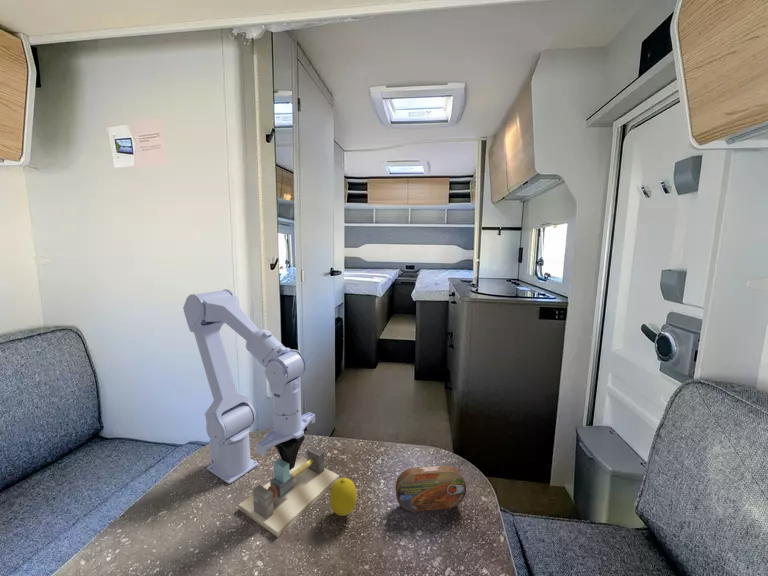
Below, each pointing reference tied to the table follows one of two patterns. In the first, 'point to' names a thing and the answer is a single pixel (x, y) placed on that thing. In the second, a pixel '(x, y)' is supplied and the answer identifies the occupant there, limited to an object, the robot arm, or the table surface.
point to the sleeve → (282, 478)
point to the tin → (430, 488)
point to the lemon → (343, 496)
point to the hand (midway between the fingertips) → (289, 466)
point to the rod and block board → (290, 494)
